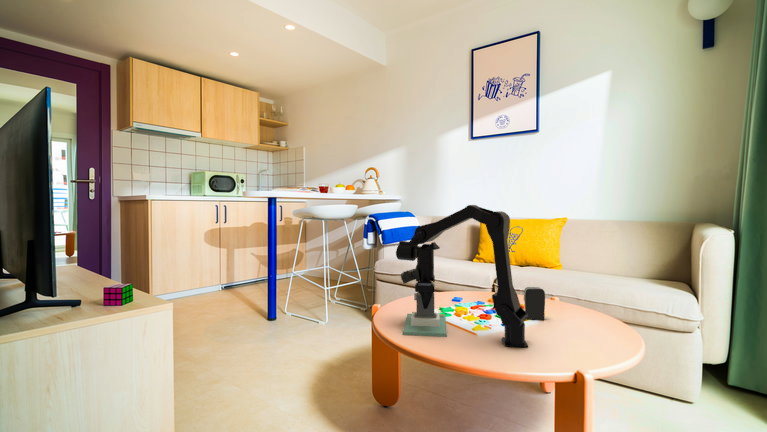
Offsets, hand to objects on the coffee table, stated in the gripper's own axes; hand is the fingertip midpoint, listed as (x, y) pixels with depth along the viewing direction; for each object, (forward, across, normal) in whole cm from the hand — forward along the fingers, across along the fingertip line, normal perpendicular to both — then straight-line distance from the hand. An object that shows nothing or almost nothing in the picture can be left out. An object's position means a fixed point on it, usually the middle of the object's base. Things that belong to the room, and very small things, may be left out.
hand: (425, 307), depth 128 cm
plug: (+2, 0, 0) cm, 2 cm away
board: (+6, 0, 0) cm, 7 cm away
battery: (+7, -13, +39) cm, 42 cm away
